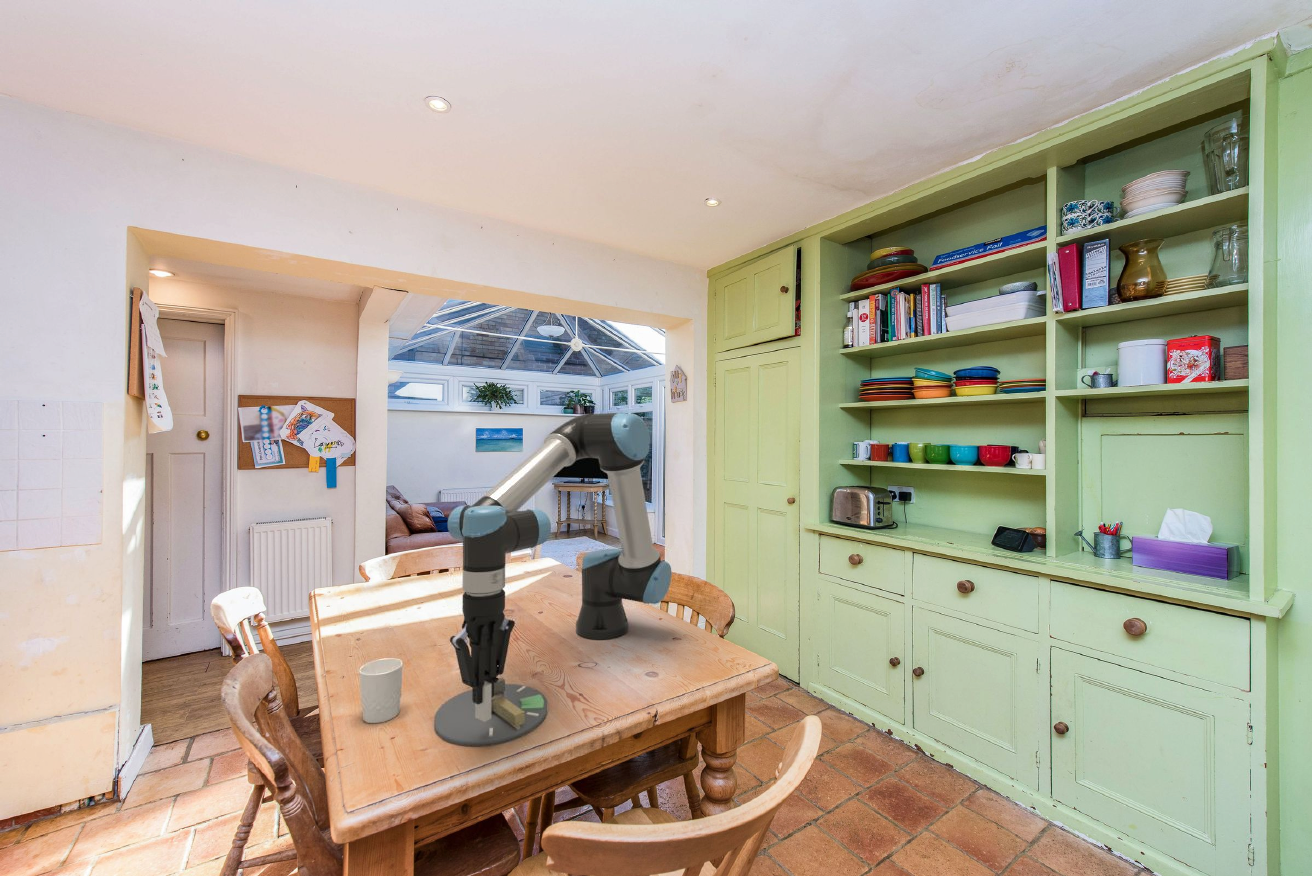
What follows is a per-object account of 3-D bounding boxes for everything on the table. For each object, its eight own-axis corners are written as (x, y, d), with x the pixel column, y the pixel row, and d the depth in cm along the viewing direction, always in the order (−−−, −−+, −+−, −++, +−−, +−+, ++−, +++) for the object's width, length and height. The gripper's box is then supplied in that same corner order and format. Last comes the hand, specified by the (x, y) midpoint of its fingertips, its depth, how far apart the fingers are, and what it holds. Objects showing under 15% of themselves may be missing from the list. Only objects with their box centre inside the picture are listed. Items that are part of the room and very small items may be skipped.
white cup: (369, 705, 114) (369, 658, 114) (408, 704, 115) (408, 657, 114) (352, 726, 106) (351, 675, 106) (393, 724, 107) (393, 674, 107)
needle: (475, 708, 110) (475, 682, 110) (498, 699, 114) (498, 675, 114) (508, 732, 101) (508, 705, 101) (531, 722, 105) (531, 696, 105)
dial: (416, 714, 110) (416, 707, 110) (512, 680, 126) (512, 673, 126) (465, 761, 95) (465, 753, 95) (568, 715, 110) (568, 708, 110)
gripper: (466, 603, 93) (465, 740, 93) (525, 586, 103) (524, 709, 103) (440, 595, 97) (439, 727, 97) (499, 579, 108) (498, 698, 108)
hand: (483, 717), depth 100 cm, fingers closed
